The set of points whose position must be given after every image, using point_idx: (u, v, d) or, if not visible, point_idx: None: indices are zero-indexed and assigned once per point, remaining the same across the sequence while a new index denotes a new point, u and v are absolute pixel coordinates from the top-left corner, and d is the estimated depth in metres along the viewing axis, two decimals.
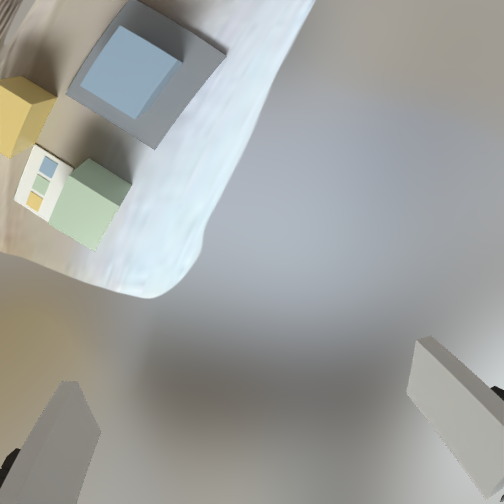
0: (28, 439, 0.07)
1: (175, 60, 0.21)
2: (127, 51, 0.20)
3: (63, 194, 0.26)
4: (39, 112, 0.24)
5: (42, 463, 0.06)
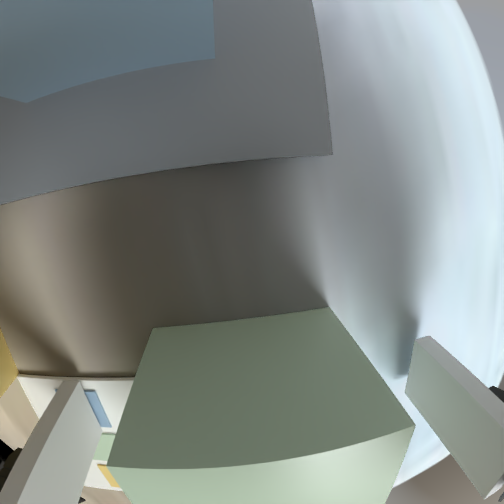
0: (30, 439, 0.07)
1: None
2: None
3: None
4: None
5: (44, 462, 0.06)
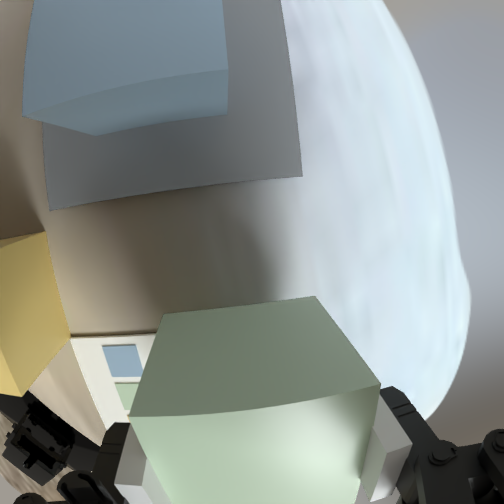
0: None
1: None
2: None
3: (164, 469, 0.07)
4: (19, 272, 0.11)
5: None
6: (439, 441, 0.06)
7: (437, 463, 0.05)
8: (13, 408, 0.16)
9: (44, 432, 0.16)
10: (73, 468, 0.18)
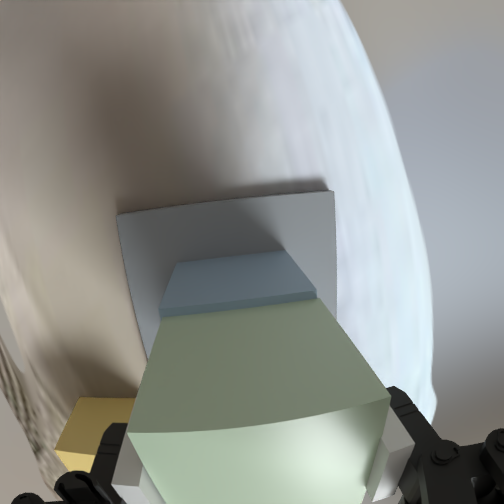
0: None
1: (313, 292, 0.12)
2: None
3: (165, 482, 0.06)
4: None
5: None
6: (442, 441, 0.06)
7: (440, 462, 0.05)
8: None
9: None
10: None
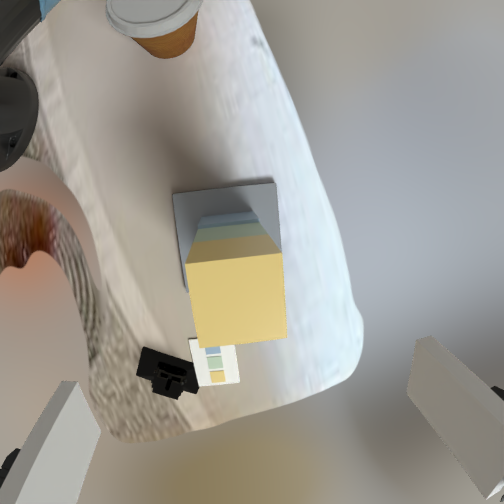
0: (28, 440, 0.07)
1: (257, 219, 0.31)
2: None
3: None
4: None
5: (42, 463, 0.06)
6: None
7: None
8: (150, 367, 0.42)
9: (170, 371, 0.42)
10: (190, 390, 0.43)
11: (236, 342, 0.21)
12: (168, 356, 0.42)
